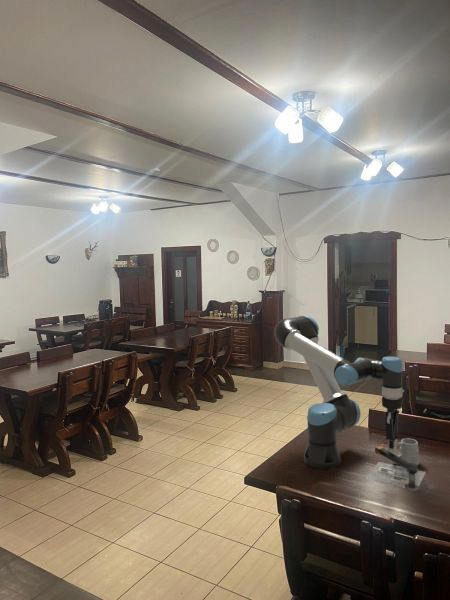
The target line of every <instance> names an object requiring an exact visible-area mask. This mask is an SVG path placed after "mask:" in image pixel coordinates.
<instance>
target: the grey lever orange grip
mask: <svg viewBox="0 0 450 600" xmlns="http://www.w3.org/2000/svg"><path fill="white" fill-rule="evenodd" d="M374 452H375V453H376V454H377V455H382V456H383V457H385V458H387V459H388V460H390V461H392V463H393V462H395V463H394V464H397V465H398V466H400V467H404V468H406V469H407V472H409V473H417V470H418V466H417V465H416V464H414V463H409V462H407V461H405V460H403V459H402V458H400V457H398V455H397V454H396V455H394V454H392V453H391V452H389V451H388V449H385V447H383V446H382V445H377V446H375V447H374Z"/></svg>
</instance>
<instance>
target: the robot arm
mask: <svg viewBox="0 0 450 600" xmlns="http://www.w3.org/2000/svg"><path fill="white" fill-rule="evenodd" d="M319 332H320V328H319V325H318V322H317V321H316V320H315V319H314V318H312V317H310V316H308V315H305V316H304V315H299V316H297V317H289V318H288V317H287V318H284V319H280V320H279V321H278V322H277V323H276V325H275V326H274V331H273V335H274V339H275V340H276V342H277V343H278V344H279V345H280V346H282V347H283V348H285V350H286V349H287V350H288V351H291V350H292V351H294V352H296V353H297V354H299V355H300V356H302V357H303V359H304V361H305V364H306V366H307V368H308V370H309V372H310V374H311V375H312V378H313V380H314V382H315V384H316V386H317V389H318V390H319V394H320V395H321V397H322V399H323V401H322V402H321V403H319V402H318V403H315V404H312V405H311V406H309V408H308V410H307V417H306V418H307V419H306V420H307V444H306V449H305V451H304V454H303V462H304V464H305V465H306V466H308V467H311V468H314V469H318V470H330V469H331V468H335V467H337V466H339V465H340V464H341V462H342V456H341V453H340V450H339V447H338V445H337V434H338V433H341V432H343V431H345V430H348V429H351V428H353V427H354V426H356V425H357V424H358V423H359V422H360V418H361V417H362V416H361V413H362V412H361V408H360V406H359V404H358V403H357V402H356V401H355V400H353V399H351V398H349V396H348V394H347V393H346V392H343V391H342V390H341V388H340V386H339V385H341V386H350V385H351V386H352V385H354V384H356V383H359V382H362V381H365V380H369V379H374V380H378V381H379V380H380V381H381V395H382V398H381V407H383V408H385V409H387V410H386V412H385V418H384V422H385V432H386V433H385V435H386V437H385V440H386V441H387V451H389V452H391V453H392V454H394V455H396V456H397V448H396V439H397V440H399V436H398V431H399V414H400V409H402V408H403V393H404V392H405V390H404V389H403V371H404V368H403V360H402V358H400V357H397V356H384V357H383V358H382V359H381V360H380V359H379V360H377V359H373V358H368V357H357V358H356V360H355V361H354V362H350V361H348V360H347V359H344V358H343V357H341V356H339V355H337V354H336V353H334V352H333V351H331V350H329V349H327V348H325V347H324V346H322V345H320V344H318V343H319V340H320V338H319V336H318V335H319Z"/></svg>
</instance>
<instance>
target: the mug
mask: <svg viewBox="0 0 450 600" xmlns="http://www.w3.org/2000/svg"><path fill="white" fill-rule="evenodd" d="M398 446H399V450H400V454H398V455H397V456H398V457H400V458H402V459H403V460H405V461H407V462H409V463H414V464H416V465H417V467H418V466H419V465H420V464H421V463H420V458H419V452H420V450H419V443H418V441H417V440H416V439H414V438H408V437H407V438H402V439H401V440H400V441H399V439H396V449H397V448H398ZM392 463H393V464H396V463H395V462H393V461H392Z"/></svg>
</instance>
